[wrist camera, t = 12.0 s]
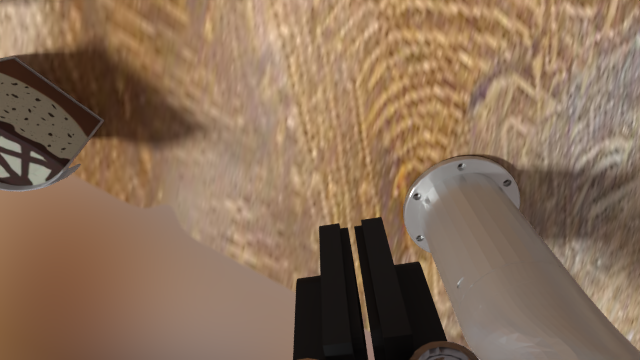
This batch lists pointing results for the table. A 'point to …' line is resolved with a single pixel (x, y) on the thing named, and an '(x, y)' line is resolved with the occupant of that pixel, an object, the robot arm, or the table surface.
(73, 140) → the food container
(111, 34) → the table surface
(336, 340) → the robot arm
